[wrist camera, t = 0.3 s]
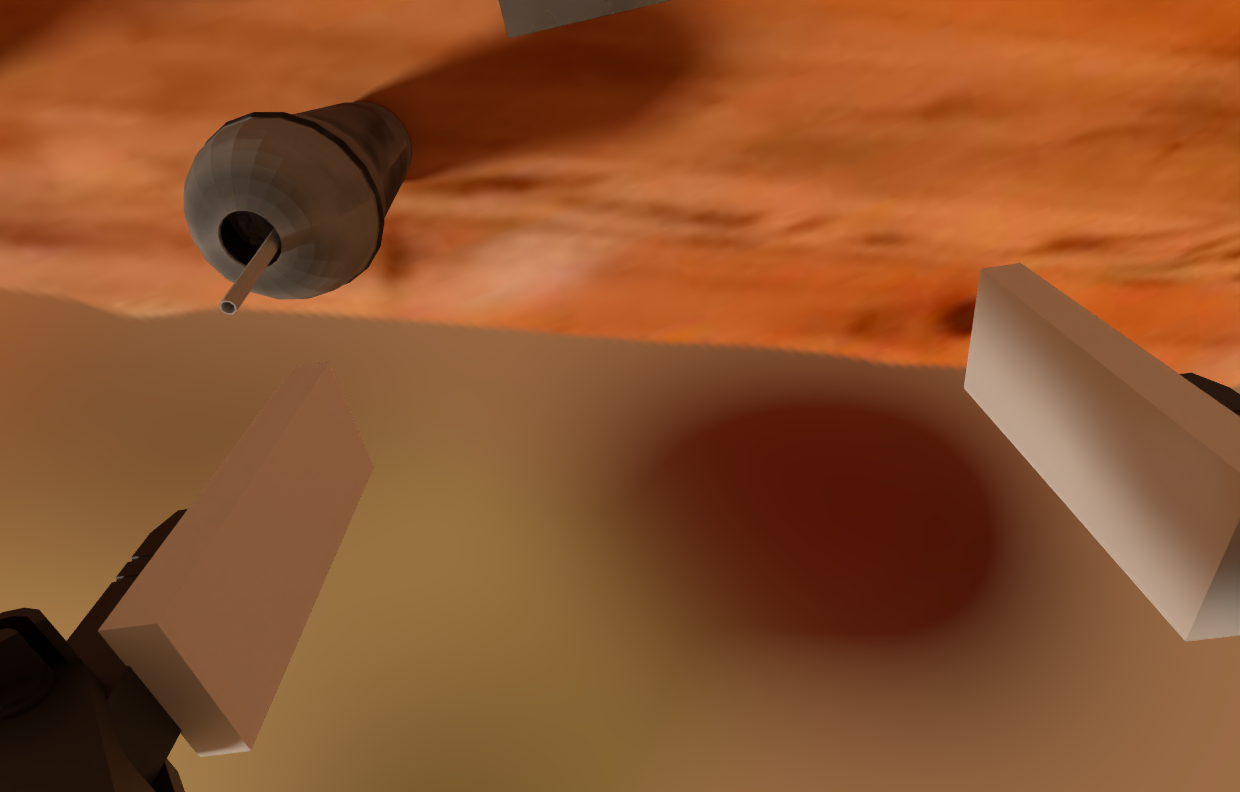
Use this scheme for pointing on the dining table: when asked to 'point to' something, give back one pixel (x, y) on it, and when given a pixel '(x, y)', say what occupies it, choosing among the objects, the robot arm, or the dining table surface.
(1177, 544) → the robot arm
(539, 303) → the dining table surface
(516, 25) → the grey slab
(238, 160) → the beverage cup
